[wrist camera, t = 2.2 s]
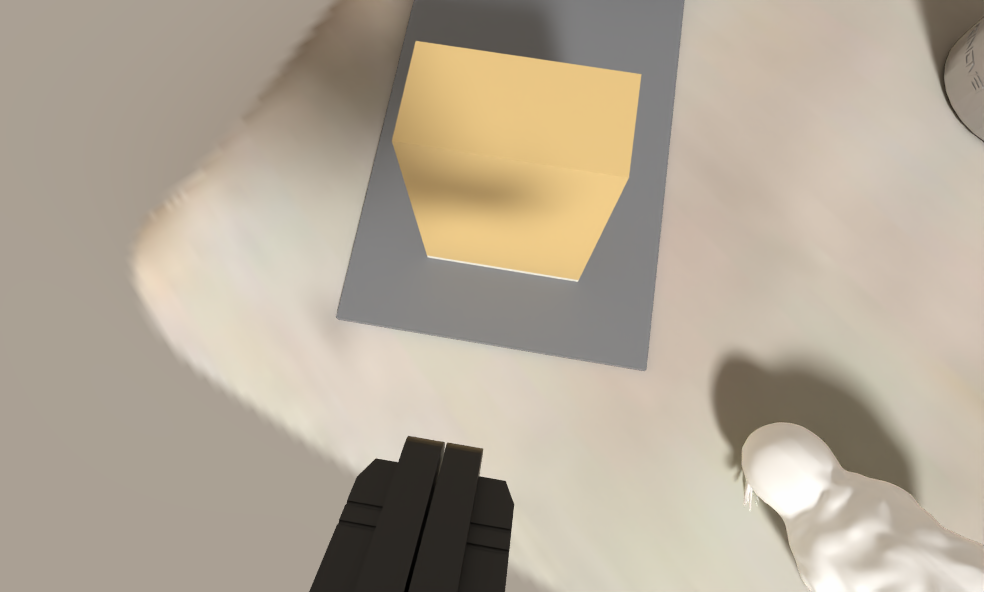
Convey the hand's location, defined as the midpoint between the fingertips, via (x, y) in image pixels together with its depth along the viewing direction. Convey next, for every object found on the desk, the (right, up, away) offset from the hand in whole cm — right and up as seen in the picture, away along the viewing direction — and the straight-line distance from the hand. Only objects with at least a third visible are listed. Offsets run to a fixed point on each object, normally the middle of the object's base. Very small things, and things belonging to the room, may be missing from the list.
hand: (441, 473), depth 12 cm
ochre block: (+2, +7, +20) cm, 21 cm away
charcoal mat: (+3, +12, +22) cm, 26 cm away
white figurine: (+17, -8, +17) cm, 25 cm away
